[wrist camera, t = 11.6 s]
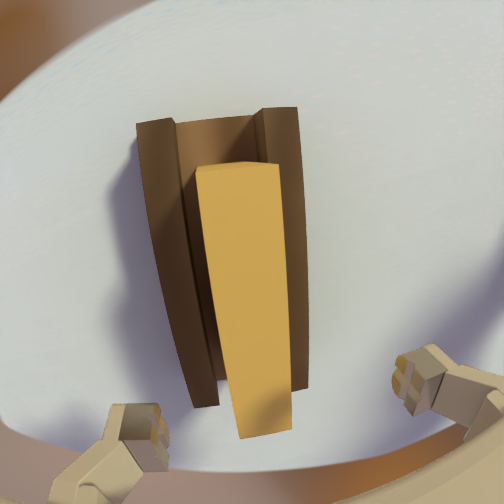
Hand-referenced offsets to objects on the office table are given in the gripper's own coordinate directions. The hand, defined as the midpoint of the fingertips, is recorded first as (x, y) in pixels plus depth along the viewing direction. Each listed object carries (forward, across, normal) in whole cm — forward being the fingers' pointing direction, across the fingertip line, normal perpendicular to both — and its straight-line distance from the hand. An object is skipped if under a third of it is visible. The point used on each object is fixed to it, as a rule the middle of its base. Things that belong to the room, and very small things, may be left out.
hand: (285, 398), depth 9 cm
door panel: (+13, 0, 0) cm, 13 cm away
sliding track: (+14, +1, 0) cm, 14 cm away
